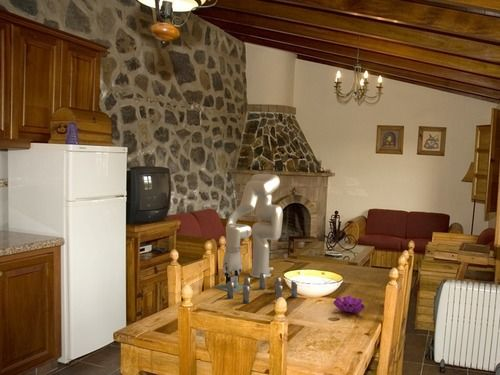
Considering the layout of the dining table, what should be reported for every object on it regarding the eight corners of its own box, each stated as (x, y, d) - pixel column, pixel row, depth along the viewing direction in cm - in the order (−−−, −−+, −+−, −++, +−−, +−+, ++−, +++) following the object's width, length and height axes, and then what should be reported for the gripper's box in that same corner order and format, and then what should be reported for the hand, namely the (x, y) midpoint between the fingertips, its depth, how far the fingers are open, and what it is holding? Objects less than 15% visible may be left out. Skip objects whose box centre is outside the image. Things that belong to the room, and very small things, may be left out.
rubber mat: (231, 282, 257) (232, 282, 257) (250, 287, 248) (250, 287, 247) (213, 287, 247) (213, 286, 247) (232, 292, 237) (232, 292, 237)
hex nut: (224, 284, 247) (224, 275, 247) (231, 283, 251) (231, 273, 251) (232, 287, 243) (233, 277, 243) (240, 285, 247) (240, 276, 247)
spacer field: (261, 287, 248) (262, 272, 248) (298, 297, 232) (298, 281, 232) (225, 297, 228) (226, 281, 228) (262, 309, 212) (263, 292, 212)
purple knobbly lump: (344, 323, 205) (332, 305, 206) (345, 312, 220) (333, 295, 221) (366, 310, 203) (353, 292, 204) (365, 300, 218) (353, 283, 218)
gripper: (239, 246, 255) (238, 278, 256) (216, 250, 242) (215, 284, 243) (249, 248, 250) (248, 281, 251) (226, 252, 237) (225, 287, 238)
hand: (232, 282), depth 247 cm, fingers closed on hex nut, 5 cm apart
